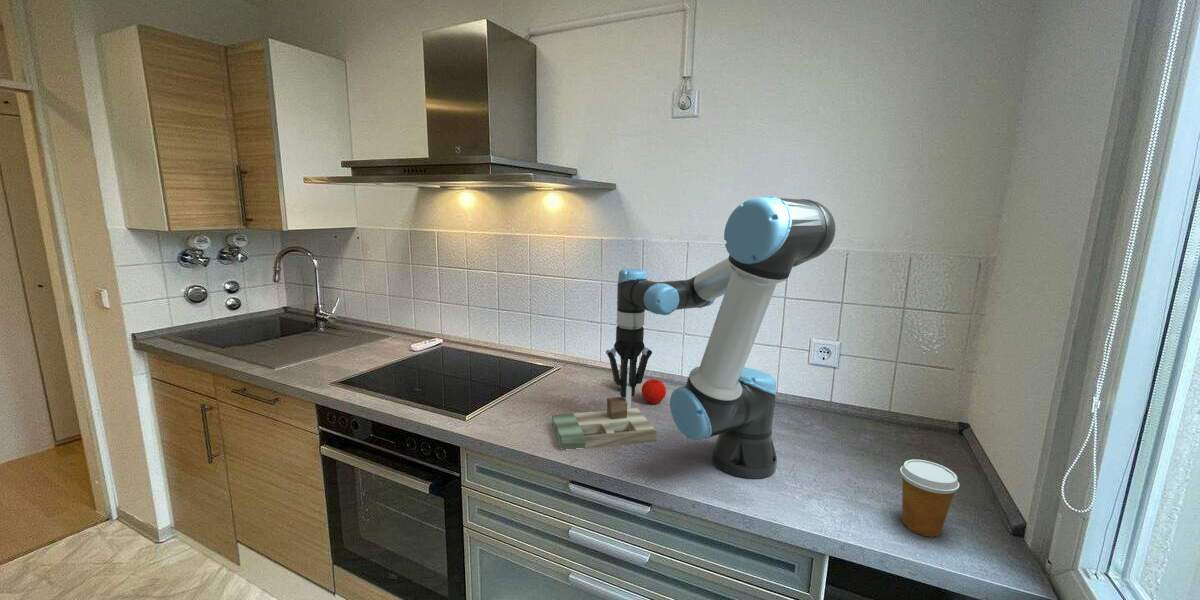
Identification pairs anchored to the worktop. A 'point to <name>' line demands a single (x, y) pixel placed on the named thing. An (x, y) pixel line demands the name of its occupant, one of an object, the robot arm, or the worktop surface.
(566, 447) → the shape sorter board
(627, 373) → the game die
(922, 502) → the disposable coffee cup
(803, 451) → the worktop surface
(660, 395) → the apple
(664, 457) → the worktop surface
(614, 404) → the block
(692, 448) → the worktop surface
